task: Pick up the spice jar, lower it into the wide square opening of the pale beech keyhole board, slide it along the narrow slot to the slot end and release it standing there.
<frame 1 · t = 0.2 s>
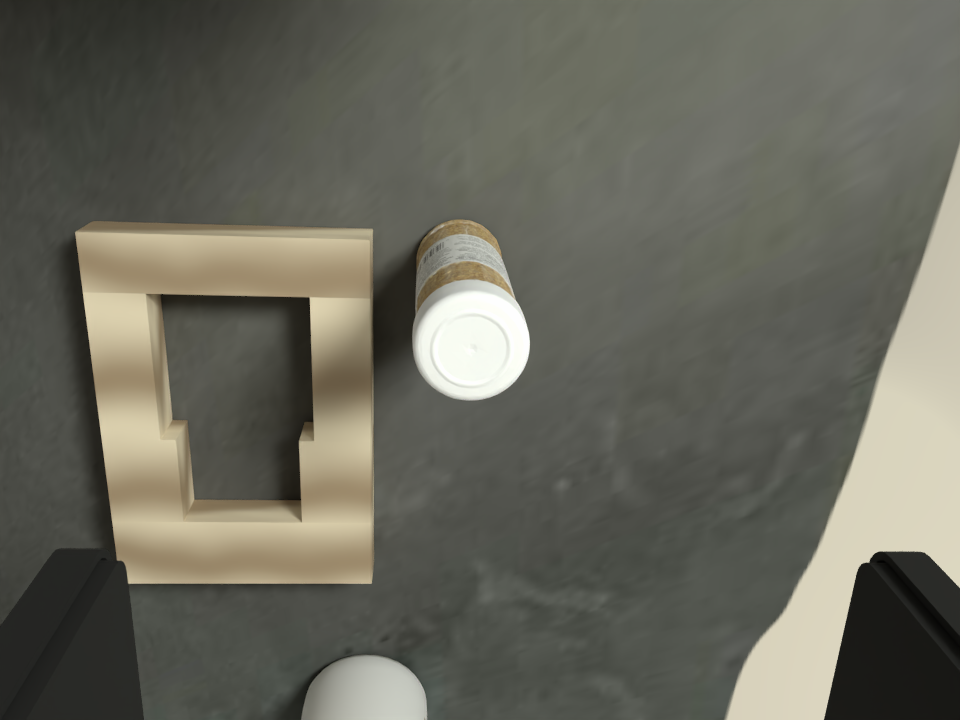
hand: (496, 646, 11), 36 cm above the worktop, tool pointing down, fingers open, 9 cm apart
milk bottle: (366, 696, 56), on the worktop
keyhole board: (245, 404, 48), on the worktop
spice jar: (459, 258, 46), on the worktop
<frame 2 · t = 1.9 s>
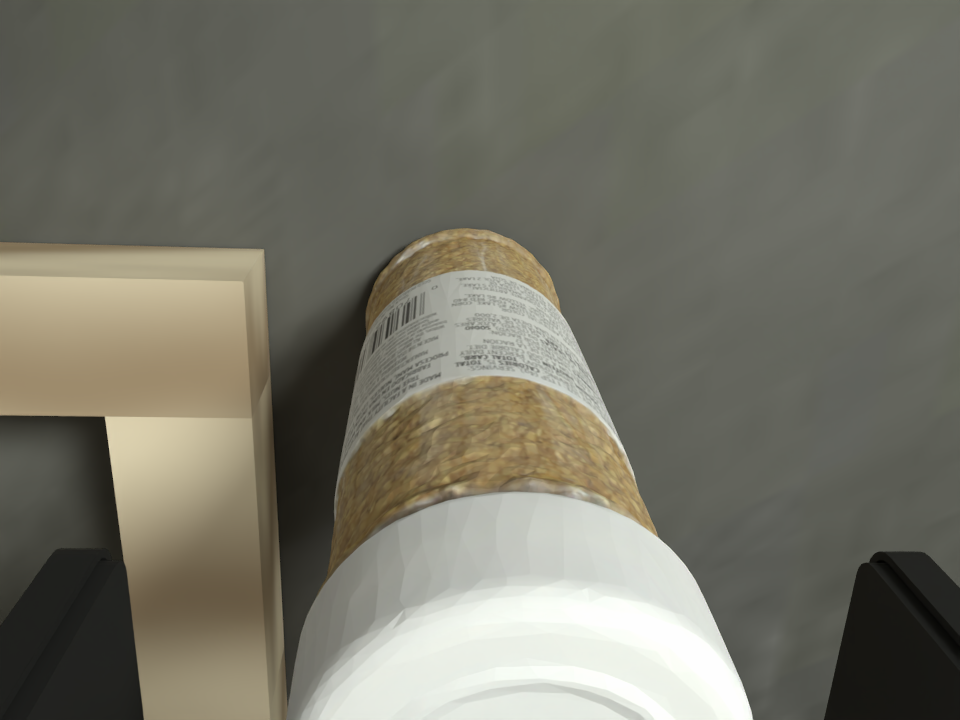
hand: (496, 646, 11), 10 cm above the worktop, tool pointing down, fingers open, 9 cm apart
keyhole board: (9, 616, 23), on the worktop
spice jar: (463, 314, 21), on the worktop
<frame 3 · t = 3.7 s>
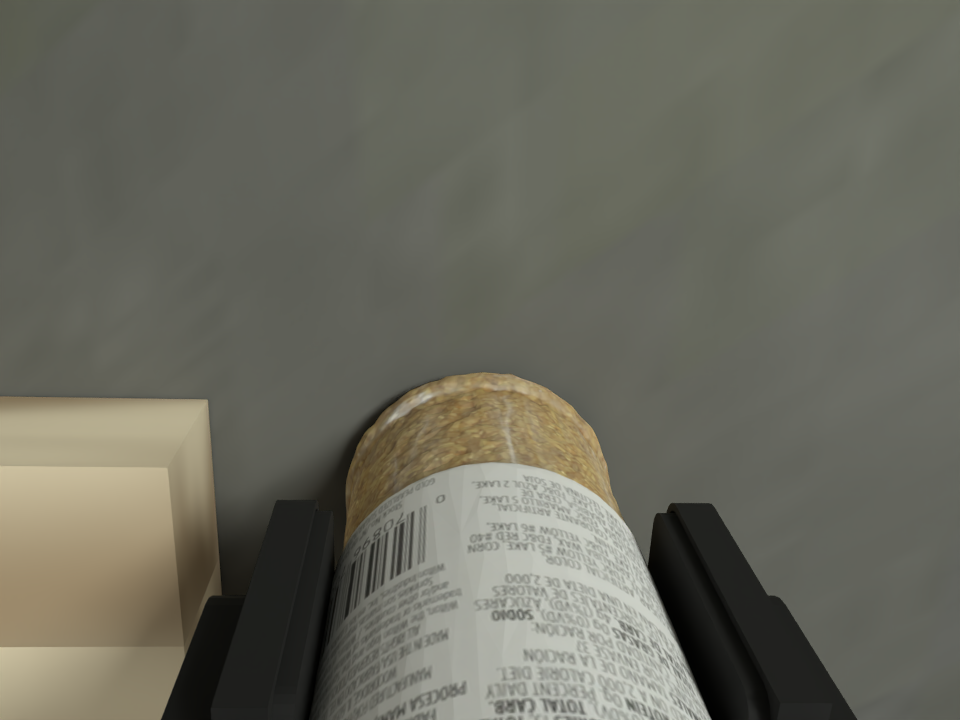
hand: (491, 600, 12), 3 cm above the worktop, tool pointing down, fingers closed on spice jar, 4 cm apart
spice jar: (477, 477, 15), on the worktop, touching gripper
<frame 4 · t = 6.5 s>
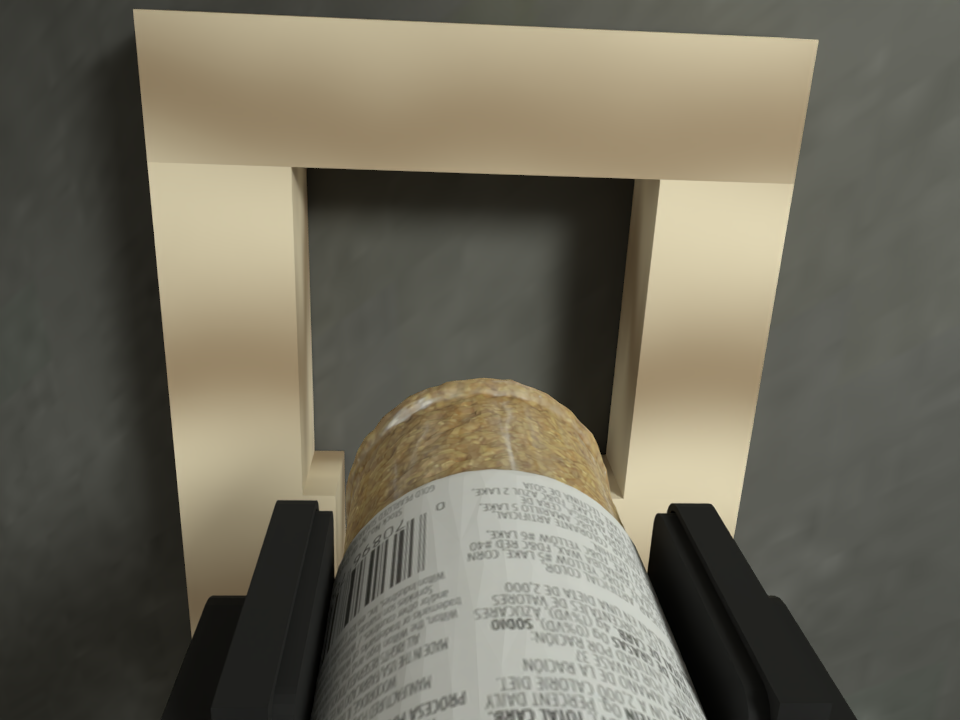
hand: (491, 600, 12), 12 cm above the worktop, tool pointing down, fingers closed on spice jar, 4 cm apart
keyhole board: (463, 419, 24), on the worktop
spice jar: (477, 482, 15), point 8 cm above the worktop, touching gripper
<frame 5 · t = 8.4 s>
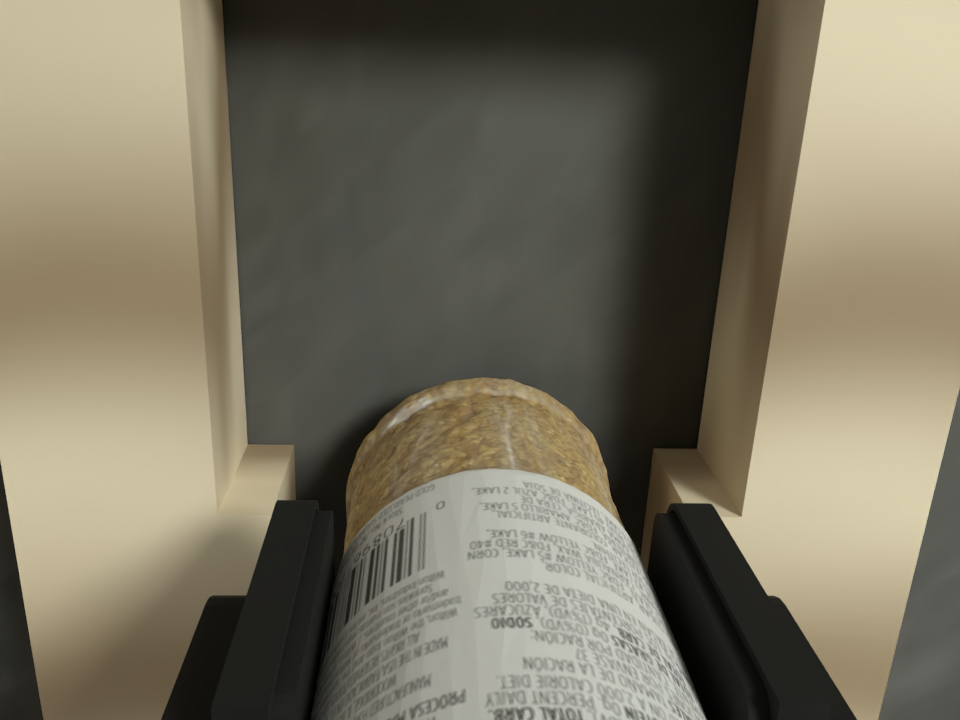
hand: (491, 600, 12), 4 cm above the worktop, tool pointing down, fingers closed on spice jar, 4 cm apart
keyhole board: (478, 394, 15), on the worktop
spice jar: (477, 482, 15), resting in keyhole board, touching gripper
when the fingers open (4 cm above the worktop, at t = 9.7 s): spice jar stays where it is, resting in keyhole board.
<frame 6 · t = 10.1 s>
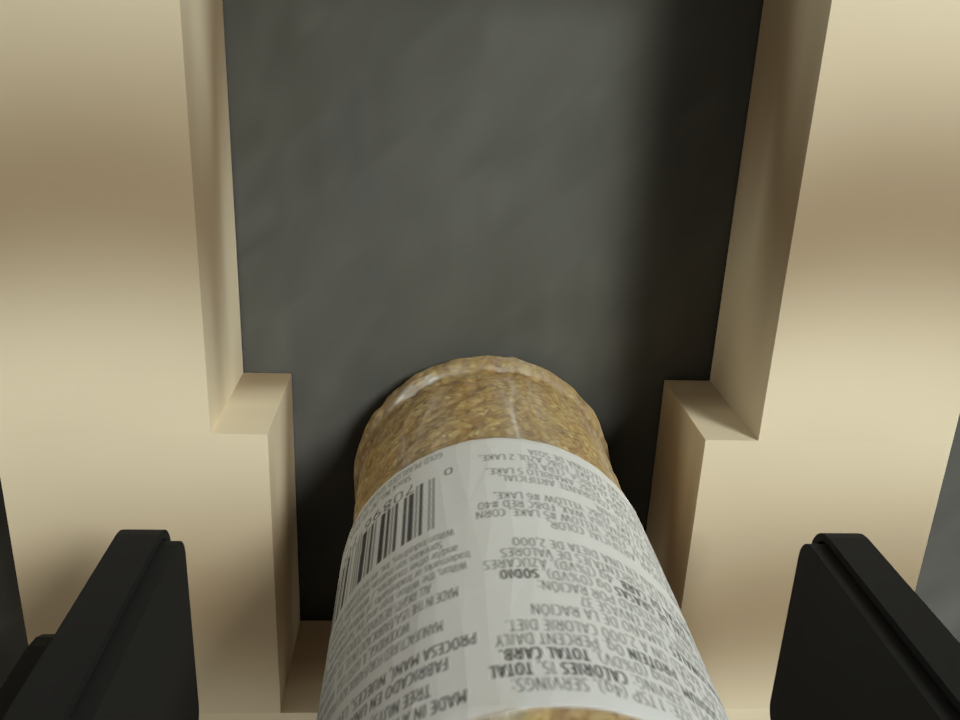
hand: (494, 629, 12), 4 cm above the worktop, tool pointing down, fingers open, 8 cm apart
keyhole board: (483, 321, 15), on the worktop
spice jar: (481, 459, 16), resting in keyhole board
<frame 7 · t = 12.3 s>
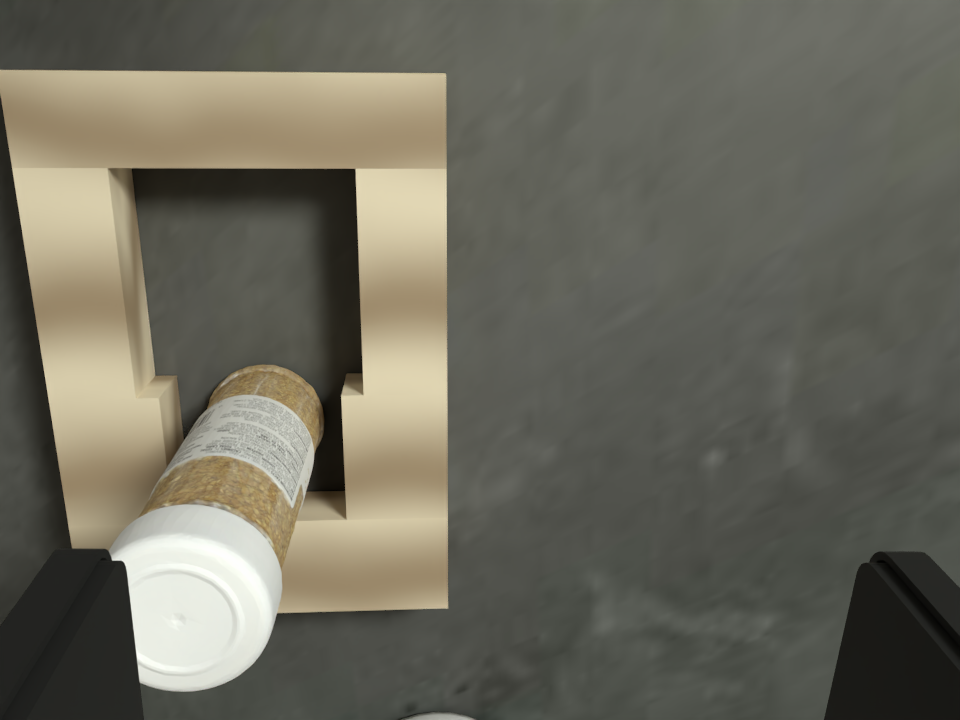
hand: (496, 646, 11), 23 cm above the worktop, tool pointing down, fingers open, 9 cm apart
keyhole board: (260, 349, 33), on the worktop
spice jar: (268, 413, 34), resting in keyhole board
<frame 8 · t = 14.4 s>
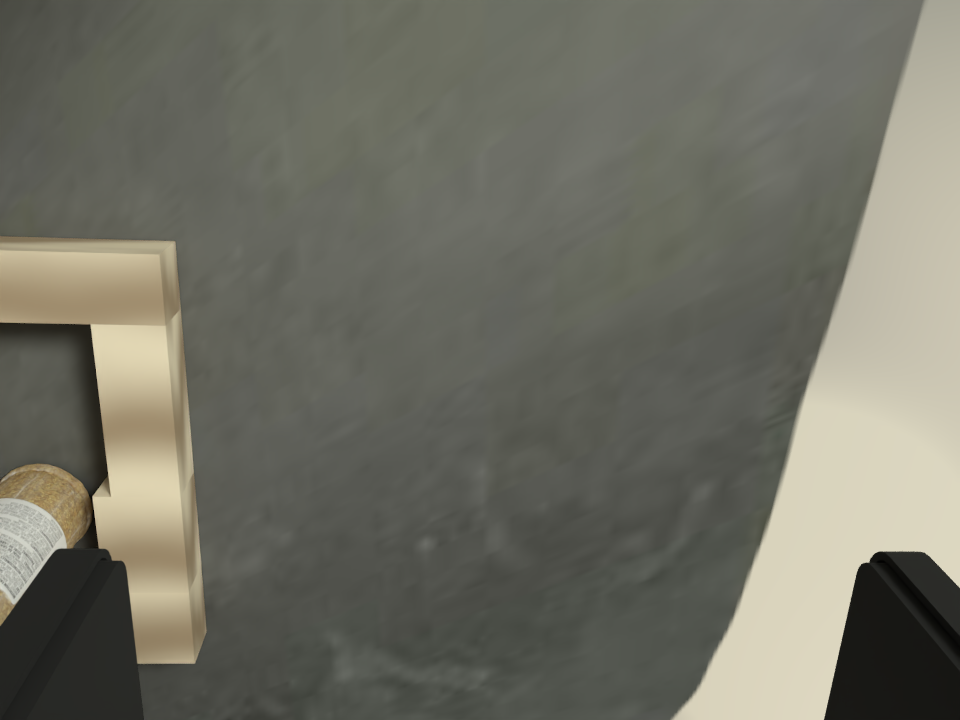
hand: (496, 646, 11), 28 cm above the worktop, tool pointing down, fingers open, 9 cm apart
keyhole board: (36, 451, 40), on the worktop
spice jar: (48, 500, 42), resting in keyhole board
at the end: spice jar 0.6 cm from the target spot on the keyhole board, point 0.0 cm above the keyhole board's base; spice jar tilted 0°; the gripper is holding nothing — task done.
